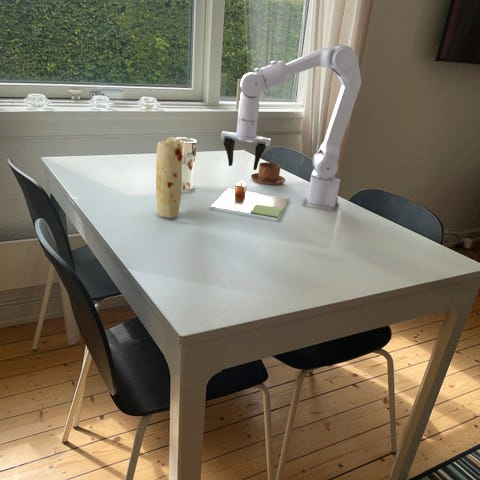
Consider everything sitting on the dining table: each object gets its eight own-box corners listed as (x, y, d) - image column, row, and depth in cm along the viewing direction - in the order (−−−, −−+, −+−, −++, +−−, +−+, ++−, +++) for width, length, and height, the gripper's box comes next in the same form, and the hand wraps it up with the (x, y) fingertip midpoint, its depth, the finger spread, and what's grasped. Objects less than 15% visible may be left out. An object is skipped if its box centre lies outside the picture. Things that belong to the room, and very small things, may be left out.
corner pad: (282, 209, 143) (282, 208, 143) (277, 217, 136) (277, 216, 136) (255, 204, 144) (255, 203, 144) (250, 212, 137) (250, 211, 137)
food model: (184, 221, 129) (187, 143, 118) (159, 221, 127) (160, 142, 116) (177, 208, 137) (179, 134, 126) (153, 208, 135) (154, 133, 124)
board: (288, 201, 153) (289, 198, 152) (278, 221, 136) (279, 218, 135) (227, 191, 156) (228, 188, 155) (210, 209, 139) (210, 206, 138)
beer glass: (196, 187, 155) (198, 139, 148) (192, 194, 149) (194, 143, 142) (174, 185, 156) (176, 136, 148) (170, 191, 150) (171, 140, 142)
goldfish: (238, 190, 154) (239, 178, 152) (246, 192, 153) (248, 179, 151) (233, 196, 148) (234, 183, 146) (242, 197, 148) (243, 185, 146)
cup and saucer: (285, 189, 164) (288, 171, 160) (250, 186, 163) (252, 167, 160) (283, 180, 174) (286, 162, 171) (250, 176, 173) (252, 159, 170)
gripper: (219, 117, 137) (216, 166, 144) (269, 125, 135) (263, 174, 142) (226, 114, 143) (222, 161, 150) (274, 121, 141) (268, 168, 148)
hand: (242, 167), depth 146 cm, fingers open, 7 cm apart
